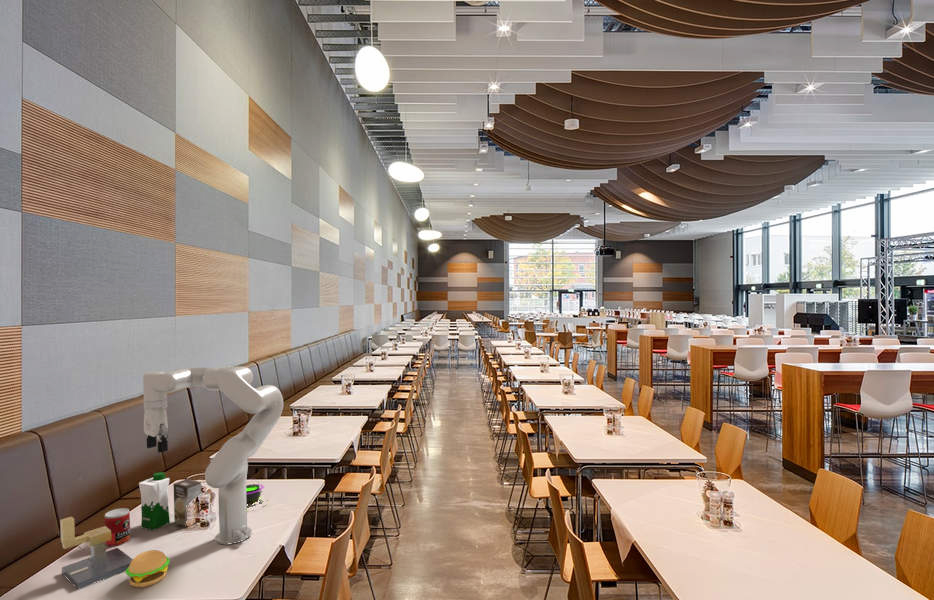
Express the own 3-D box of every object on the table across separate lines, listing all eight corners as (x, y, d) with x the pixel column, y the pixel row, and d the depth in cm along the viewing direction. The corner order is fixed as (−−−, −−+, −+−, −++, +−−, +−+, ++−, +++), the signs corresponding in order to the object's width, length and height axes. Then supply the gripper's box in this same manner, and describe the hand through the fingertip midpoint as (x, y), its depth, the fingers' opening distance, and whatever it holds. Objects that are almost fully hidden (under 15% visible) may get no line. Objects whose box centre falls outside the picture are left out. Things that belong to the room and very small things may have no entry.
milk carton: (173, 522, 207) (172, 472, 206) (152, 532, 198) (150, 480, 198) (158, 518, 210) (156, 470, 210) (137, 528, 202) (135, 478, 201)
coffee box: (173, 523, 206) (172, 483, 205) (188, 516, 211) (187, 478, 211) (187, 527, 201) (186, 487, 201) (202, 521, 207) (201, 481, 207)
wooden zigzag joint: (105, 534, 175) (104, 505, 175) (111, 539, 171) (110, 510, 171) (60, 549, 166) (58, 518, 165) (65, 555, 162) (63, 523, 162)
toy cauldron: (276, 501, 226) (275, 476, 226) (248, 514, 212) (248, 488, 212) (252, 496, 232) (251, 471, 232) (223, 509, 219) (222, 483, 218)
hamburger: (121, 581, 164) (120, 554, 164) (162, 565, 173) (161, 540, 173) (132, 595, 156) (131, 567, 156) (175, 578, 165) (174, 551, 165)
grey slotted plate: (135, 567, 173) (134, 540, 172) (77, 589, 160) (76, 561, 160) (117, 553, 182) (116, 528, 182) (61, 573, 170) (61, 546, 169)
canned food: (118, 547, 187) (117, 517, 186) (99, 545, 188) (98, 516, 188) (135, 537, 194) (134, 508, 194) (117, 535, 196) (117, 507, 196)
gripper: (135, 403, 196) (136, 448, 196) (154, 409, 185) (156, 456, 186) (156, 400, 202) (158, 443, 202) (176, 405, 191) (178, 450, 192)
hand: (157, 449), depth 194 cm, fingers open, 9 cm apart
